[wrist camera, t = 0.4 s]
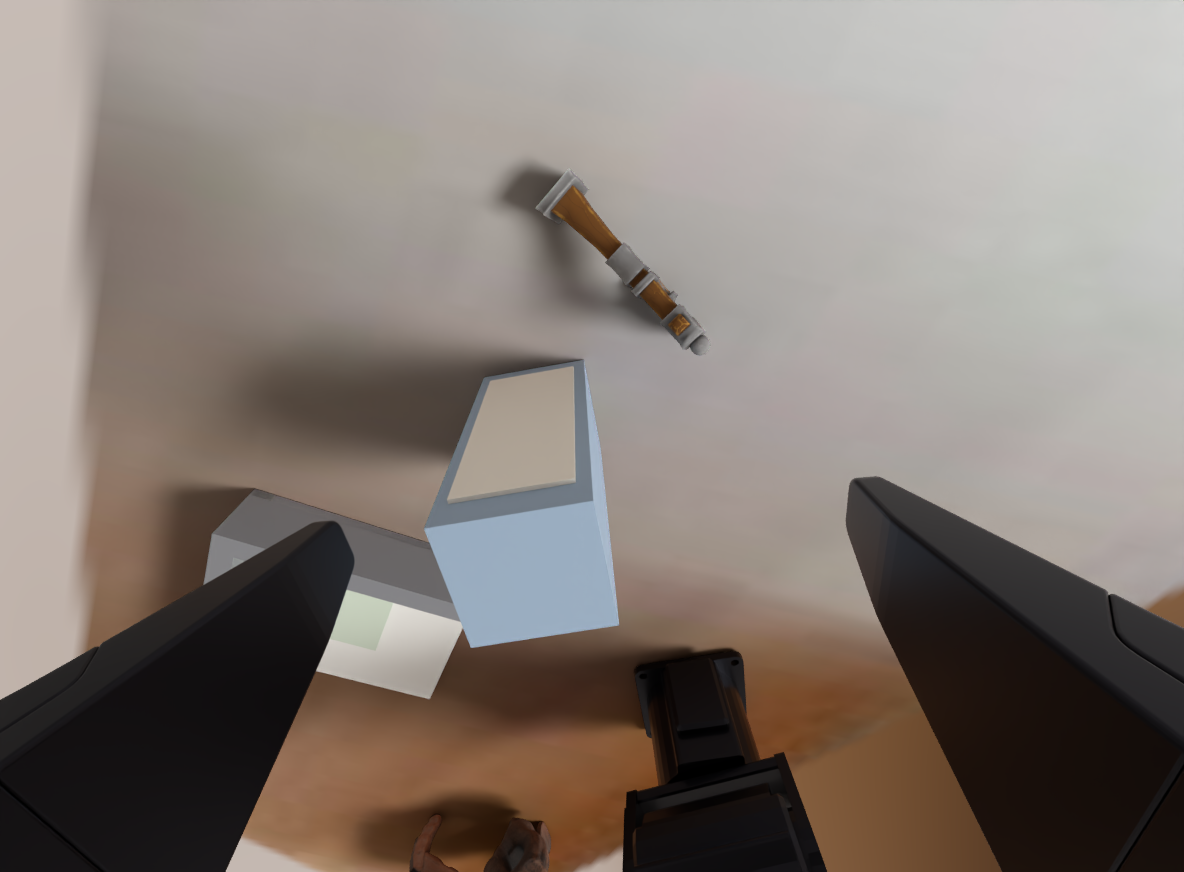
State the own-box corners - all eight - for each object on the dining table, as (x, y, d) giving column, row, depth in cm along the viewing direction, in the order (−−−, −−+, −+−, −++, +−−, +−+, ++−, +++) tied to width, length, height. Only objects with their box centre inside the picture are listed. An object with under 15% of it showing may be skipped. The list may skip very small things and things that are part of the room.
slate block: (600, 448, 26) (619, 625, 16) (508, 463, 26) (471, 647, 16) (583, 356, 24) (592, 495, 14) (483, 374, 24) (422, 524, 14)
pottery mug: (522, 871, 44) (453, 989, 37) (447, 780, 45) (367, 879, 38) (607, 848, 37) (542, 987, 31) (517, 741, 38) (435, 853, 31)
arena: (491, 562, 29) (481, 611, 25) (431, 691, 33) (417, 747, 30) (254, 488, 26) (212, 533, 23) (224, 639, 30) (185, 694, 27)
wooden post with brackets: (696, 364, 23) (685, 371, 19) (571, 230, 23) (532, 207, 19) (729, 334, 22) (725, 334, 18) (600, 197, 23) (566, 166, 19)
